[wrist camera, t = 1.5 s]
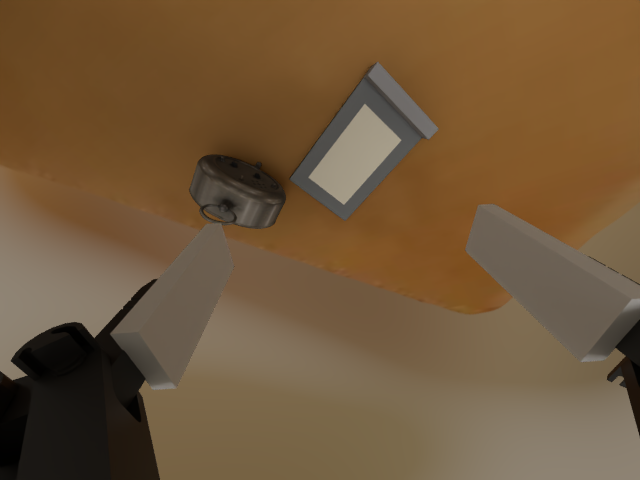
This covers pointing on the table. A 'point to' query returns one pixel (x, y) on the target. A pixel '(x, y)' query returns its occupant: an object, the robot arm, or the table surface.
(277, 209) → the alarm clock
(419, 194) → the table surface
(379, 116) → the mat
